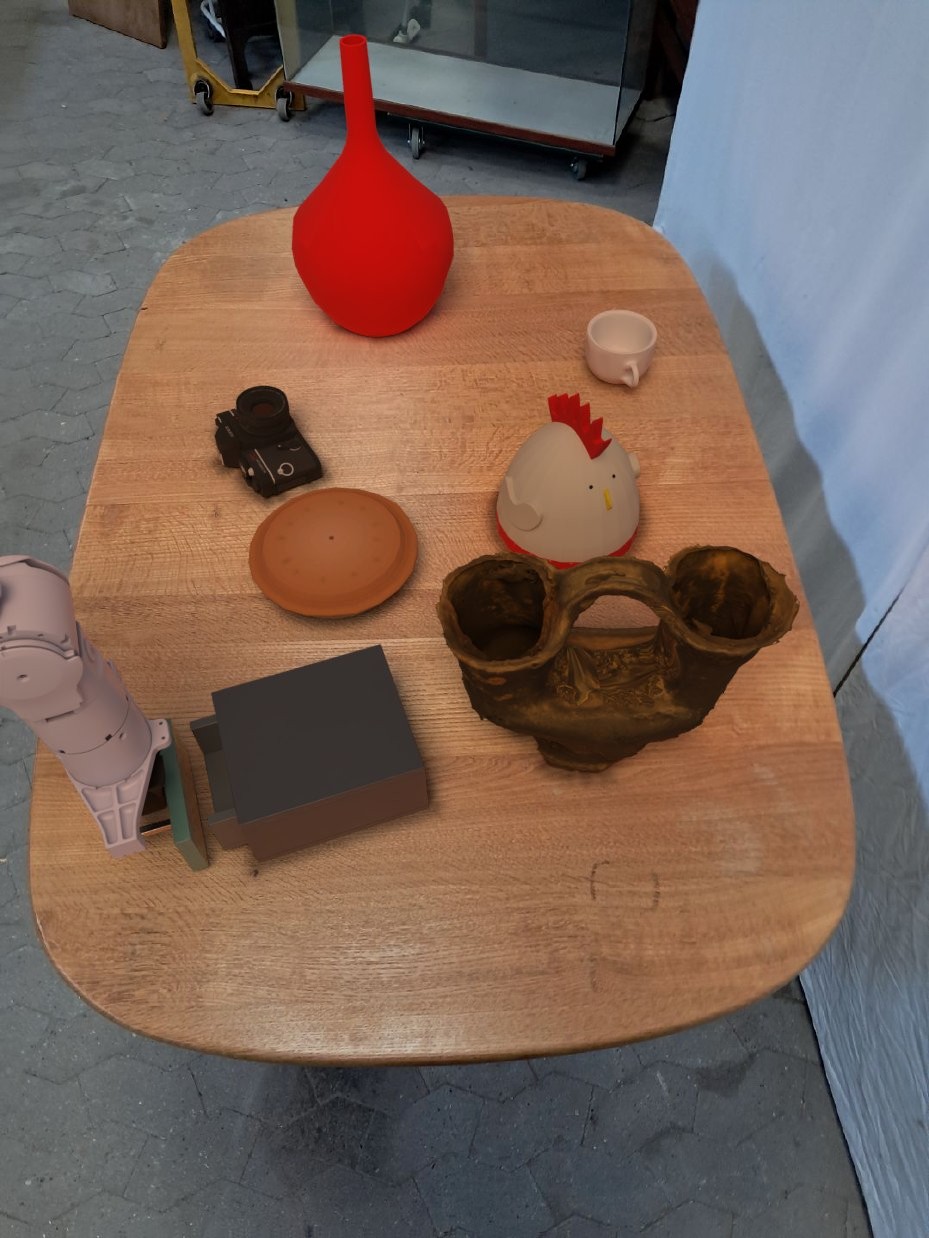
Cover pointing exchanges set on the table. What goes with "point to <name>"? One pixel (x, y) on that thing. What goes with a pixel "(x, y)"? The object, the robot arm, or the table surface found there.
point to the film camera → (265, 442)
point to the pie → (333, 552)
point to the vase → (371, 225)
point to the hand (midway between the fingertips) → (152, 804)
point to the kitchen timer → (570, 490)
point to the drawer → (184, 797)
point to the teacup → (620, 346)
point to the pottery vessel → (608, 645)
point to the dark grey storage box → (319, 753)
